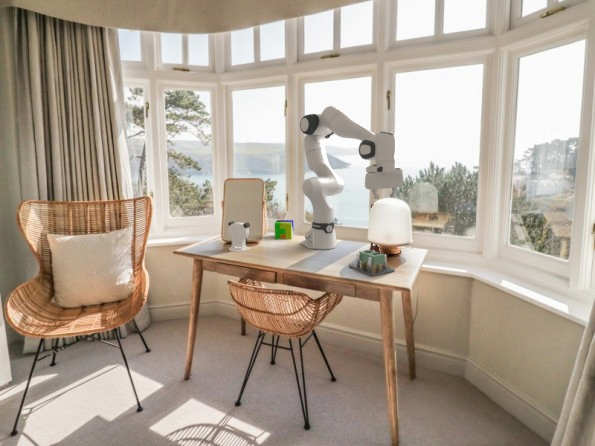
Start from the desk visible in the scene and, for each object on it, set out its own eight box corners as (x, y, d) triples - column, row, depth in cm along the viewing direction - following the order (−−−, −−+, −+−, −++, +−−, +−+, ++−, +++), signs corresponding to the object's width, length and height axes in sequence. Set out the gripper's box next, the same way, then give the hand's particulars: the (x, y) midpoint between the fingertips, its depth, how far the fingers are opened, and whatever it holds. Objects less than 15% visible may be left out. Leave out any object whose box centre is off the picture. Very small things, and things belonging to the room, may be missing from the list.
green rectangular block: (358, 260, 178) (359, 250, 177) (368, 258, 181) (368, 248, 180) (374, 265, 169) (374, 255, 168) (384, 263, 172) (384, 253, 172)
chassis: (349, 266, 179) (349, 252, 178) (371, 262, 186) (371, 248, 184) (371, 276, 166) (371, 260, 164) (394, 271, 172) (395, 256, 170)
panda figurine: (254, 247, 217) (253, 221, 214) (244, 252, 207) (243, 224, 204) (235, 245, 222) (234, 219, 219) (224, 250, 211) (223, 223, 208)
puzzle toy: (293, 235, 245) (293, 220, 243) (291, 239, 235) (291, 223, 233) (278, 235, 246) (277, 220, 244) (275, 239, 237) (274, 223, 235)
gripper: (397, 166, 183) (396, 195, 185) (363, 168, 173) (362, 199, 176) (407, 167, 177) (406, 197, 180) (372, 168, 168) (371, 200, 170)
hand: (384, 198), depth 178 cm, fingers open, 8 cm apart
